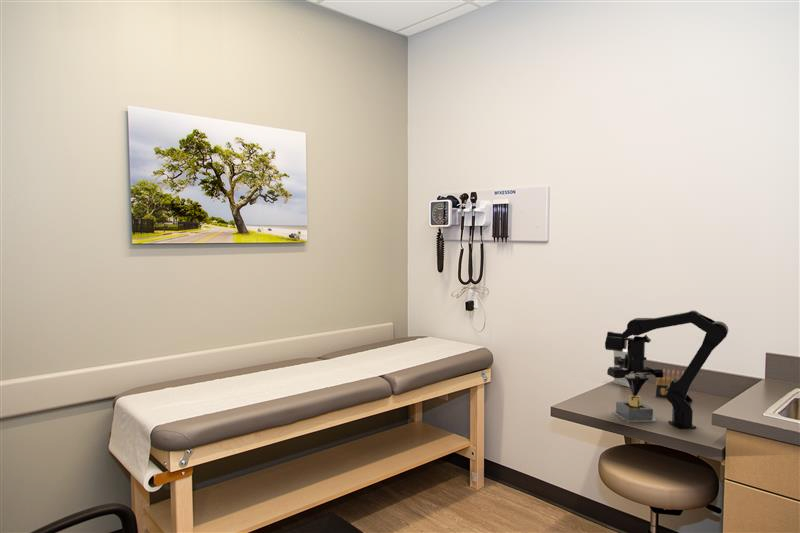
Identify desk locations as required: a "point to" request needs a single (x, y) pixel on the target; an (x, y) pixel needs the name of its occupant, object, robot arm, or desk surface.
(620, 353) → the skincare box
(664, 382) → the ammunition clip
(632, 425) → the desk surface
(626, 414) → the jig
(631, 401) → the bushing
